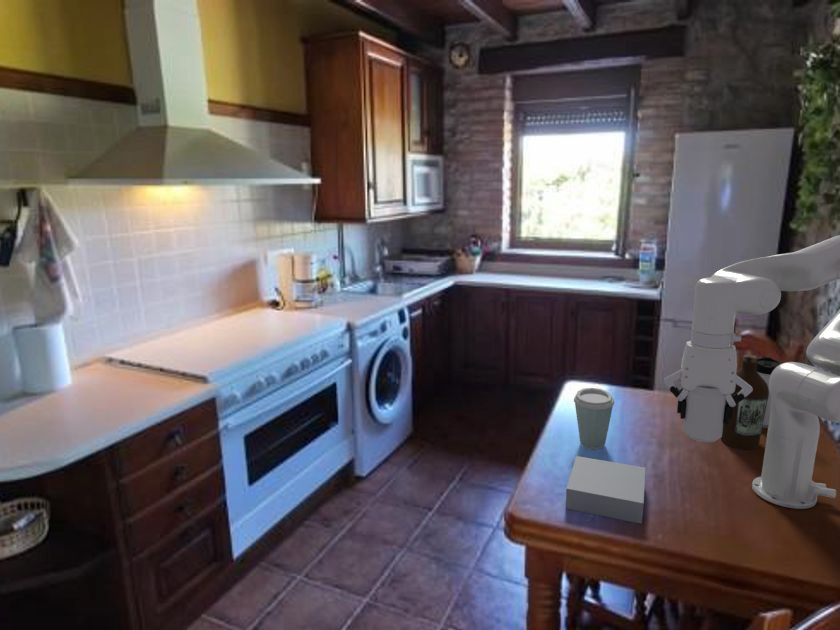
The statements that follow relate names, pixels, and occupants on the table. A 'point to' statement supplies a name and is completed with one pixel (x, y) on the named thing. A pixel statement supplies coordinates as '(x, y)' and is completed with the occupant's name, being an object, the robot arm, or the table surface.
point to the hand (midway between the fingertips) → (703, 418)
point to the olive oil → (747, 409)
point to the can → (704, 414)
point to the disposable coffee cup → (593, 416)
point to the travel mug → (766, 380)
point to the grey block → (606, 489)
